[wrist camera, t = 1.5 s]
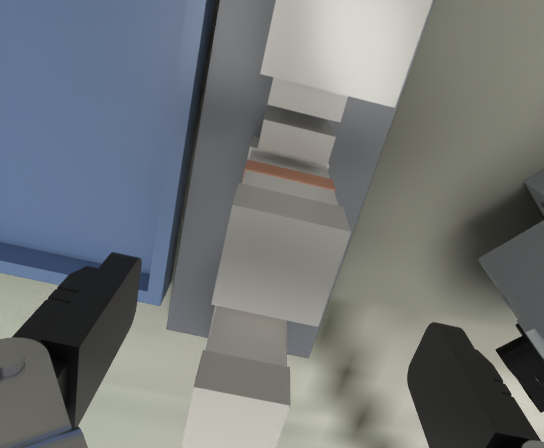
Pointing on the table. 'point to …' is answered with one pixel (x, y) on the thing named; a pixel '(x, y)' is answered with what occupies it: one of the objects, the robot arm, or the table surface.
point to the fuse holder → (273, 137)
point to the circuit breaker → (523, 297)
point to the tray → (97, 133)
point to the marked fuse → (282, 239)
